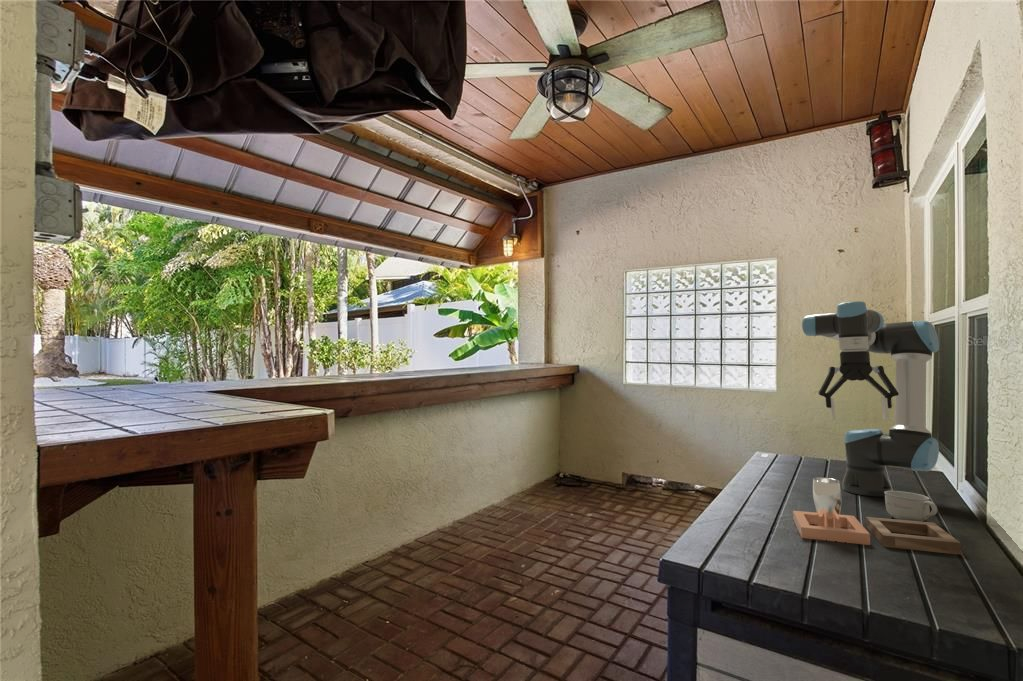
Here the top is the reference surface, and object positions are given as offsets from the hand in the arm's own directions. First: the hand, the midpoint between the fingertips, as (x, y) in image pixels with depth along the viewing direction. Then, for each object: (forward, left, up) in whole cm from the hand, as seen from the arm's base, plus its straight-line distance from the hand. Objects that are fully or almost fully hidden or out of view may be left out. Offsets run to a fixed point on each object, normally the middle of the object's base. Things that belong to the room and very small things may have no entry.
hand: (858, 418), depth 146 cm
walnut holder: (+13, +7, -32) cm, 35 cm away
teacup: (-5, +13, -32) cm, 35 cm away
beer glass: (+13, -12, -32) cm, 36 cm away
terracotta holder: (+13, -12, -32) cm, 36 cm away
